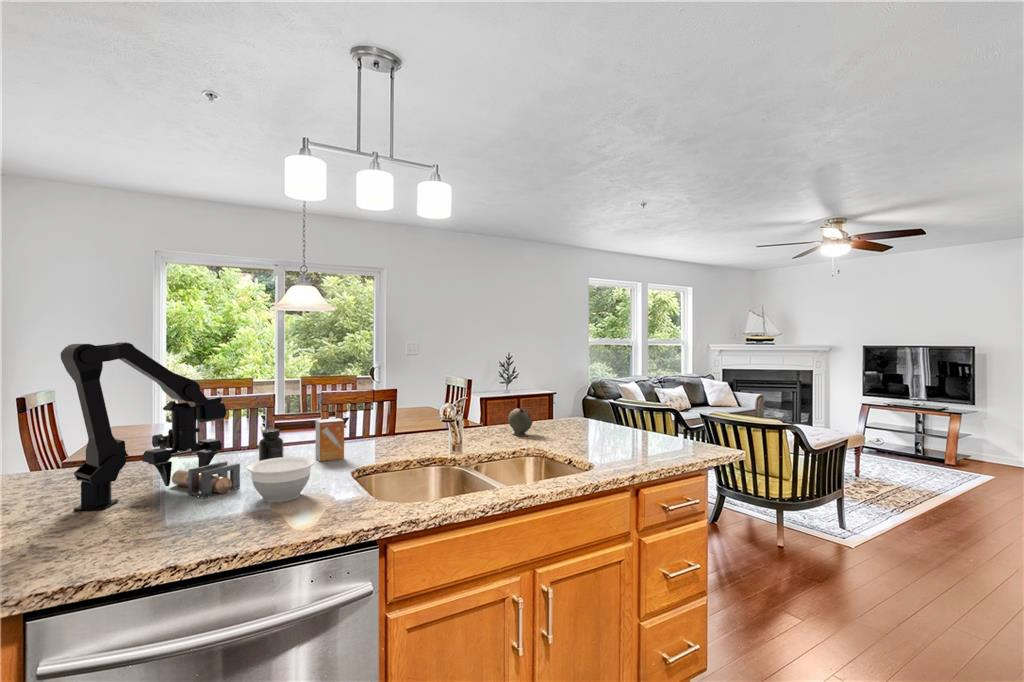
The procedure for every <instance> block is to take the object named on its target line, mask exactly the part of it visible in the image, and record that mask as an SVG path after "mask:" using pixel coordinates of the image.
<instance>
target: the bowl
mask: <svg viewBox="0 0 1024 682" xmlns="http://www.w3.org/2000/svg"><path fill="white" fill-rule="evenodd" d="M315 464H316V462H315V460H314V459H313V458H310V457H305V456H283V457H280V458H272V459H266V460H261V461H259V460H258V461H255V462H251V464H249V465H247V467H246V470H247V472H250V474H251V480H252V484H253V487H254V488H255V489H256V491H257V493H258V494H259V495H260V496H261V497H262V501H263V500H264V501H263V502H265V501H266V503H271V502H277V503H283V502H284V501H286V502H290V501H293V499H294V500H296V499H298V498H300V497H301V493H302V491H303V490H304V488H305V487H306V485H307V483H308V482H309V480H310V476H311V468H312V466H314V465H315ZM289 500H290V501H289ZM284 503H285V502H284Z"/></svg>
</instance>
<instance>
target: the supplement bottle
mask: <svg viewBox="0 0 1024 682" xmlns="http://www.w3.org/2000/svg"><path fill="white" fill-rule="evenodd" d="M280 436H281V434H280V429H279V428H268V429H264V430H262V438H261V439H260V440H259V441H258V442H259V443H258V461H261V460H266V459H272V458H280V457H284V440H283V439H282V437H280Z"/></svg>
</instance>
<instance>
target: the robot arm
mask: <svg viewBox="0 0 1024 682" xmlns="http://www.w3.org/2000/svg"><path fill="white" fill-rule="evenodd" d="M60 360H61V362H62V364H63V366H64V369H65V370H66V372H67V374H68V375H69V376H70V378H71V379H72V380H73V381H74V383H75V388H76V392H77V396H78V400H79V404H80V407H81V413H82V417H83V420H84V425H85V429H86V433H87V437H88V438H87V440H88V442H87V445H86V447H85V448H86V449H85V462H84V463H83V464H81V465H80V466H79V468H78V469H76V470H75V472H73V476H74V477H75V479H76V481H77V482H80V505H78V506H76V507H74V508H73V509H72V511H74V512H76V511H77V512H79V511H97V510H105V509H107V508H109V507H110V506H112V505H114V504H116V503H118V502H119V499H118V498H112V496H113V495H112V483H113V482H115V481H117V479H118V477H119V474H120V472H121V470H123V468H124V467H125V465H126V463H127V458H128V457H129V454H128V453H127V451H126V443H125V442H126V441H125V440H121V439H117V438H116V437H114V435H113V433H112V428H111V424H110V419H109V415H108V409H107V406H106V402H105V397H104V393H103V389H102V385H101V376H102V375H101V374H102V372H103V369H104V367H103V366H104V365H103V364H104V363H105V362H110V361H115V360H120V361H121V362H123V363H124V364H126V365H128V366H129V367H131V368H133V369H134V370H136V371H138V372H139V373H141V374H142V375H143V376H145V377H147V378H148V379H150V380H152V381H153V382H155V383H156V384H157V385H159V387H160V388H161V390H162V391H163V392H164V393H165V394H166V395H167V396H168V397H169V398H171V399H172V400H176V401H181V402H179V403H177V402H176V401H172V400H170V401H169V402H168V403H167V404H166V405H165V406H163V407H162V410H163V411H169V412H171V428H170V429H168V432H167V433H168V435H163V434H162V433H160V434H154V435H152V436H151V444H152V447H153V449H147V450H145V451H144V452H143V454H142V457H141V458H142V462H143V463H148V465H153V466H154V467H155V468H156V470H157V471H158V473H159V475H160V477H161V479H162V482H163V483H164V486H165V487H170V484H171V479H172V477H171V476H172V475H171V474H172V468H173V461H171V460H170V459H172V457H175V456H180V455H185V454H191V453H194V452H195V453H196V455H197V458H198V466H197V468H198V467H202V466H206V465H210V464H211V462H212V460H214V457H215V455H217V454H218V453H219V451H222V450H223V442H222V441H221V440H220V439H214V438H206V439H201V440H198V441H197V437H198V435H197V433H200V430H201V429H200V427H197V421H198V422H199V423H201V424H202V423H209V422H215V421H223V420H224V419H225V418H226V416H227V408H226V405H225V403H224V402H223V399H222V396H221V397H220V396H214V397H210V398H207V396H206V395H205V394H204V393H203V392H202V390H201V385H200V384H199V383H198V382H197V381H195V379H194V380H193V379H192V378H189V377H186V376H183V375H181V374H178V373H175V372H174V371H171V370H169V369H168V368H166V367H165V366H164V365H163V364H161V363H159V362H157V361H156V360H154V359H153V358H151V357H150V356H148V355H147V354H146V353H144V352H142V351H141V350H139V348H137V347H135V346H134V345H133V344H132V343H130V342H127V341H126V342H125V341H124V342H120V341H119V342H115V343H111V344H110V343H109V344H108V343H107V344H98V345H94V344H92V343H91V344H90V343H72V344H68V345H67V346H65V347H64V348H63V349H62V350H61V352H60ZM182 401H184V402H182ZM190 403H192V405H190ZM126 457H127V458H126Z"/></svg>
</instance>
